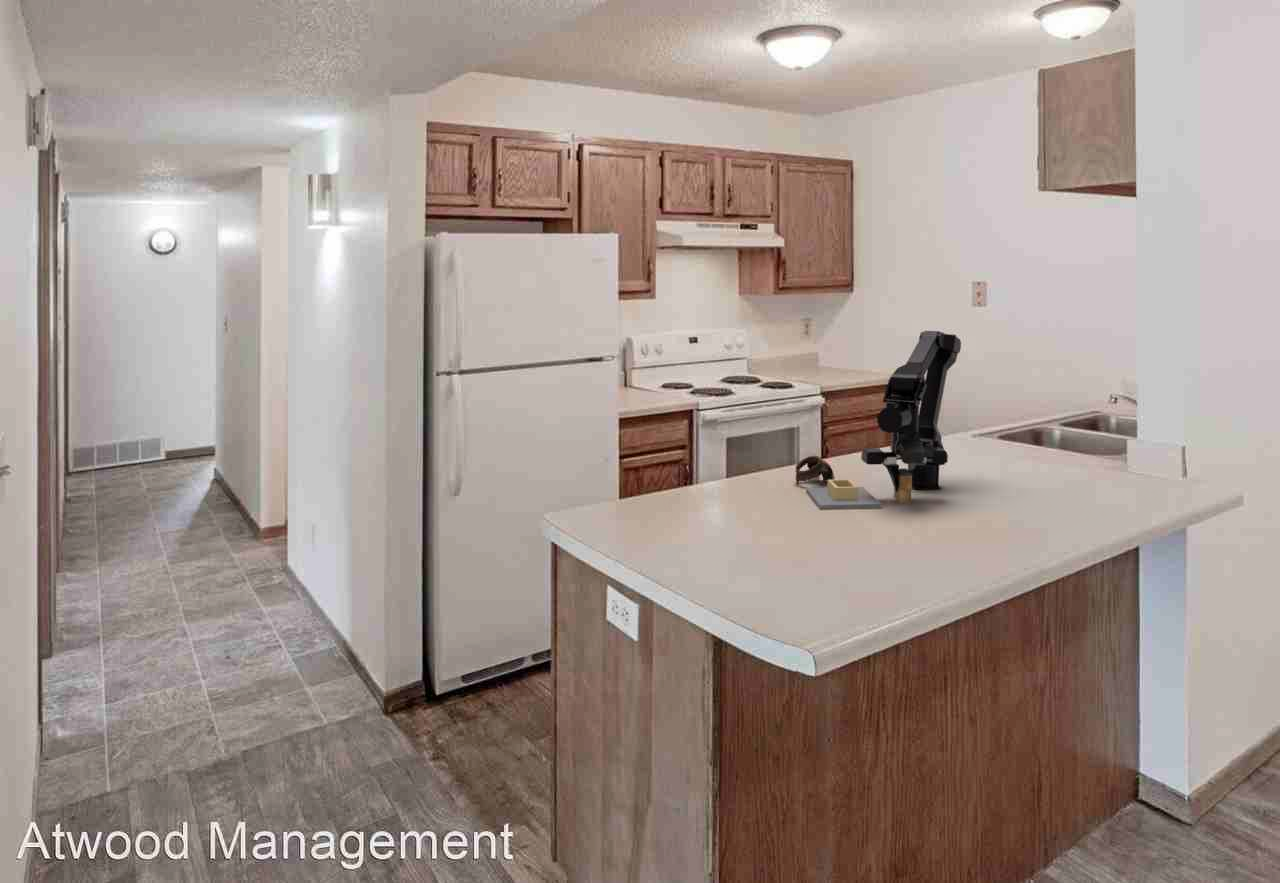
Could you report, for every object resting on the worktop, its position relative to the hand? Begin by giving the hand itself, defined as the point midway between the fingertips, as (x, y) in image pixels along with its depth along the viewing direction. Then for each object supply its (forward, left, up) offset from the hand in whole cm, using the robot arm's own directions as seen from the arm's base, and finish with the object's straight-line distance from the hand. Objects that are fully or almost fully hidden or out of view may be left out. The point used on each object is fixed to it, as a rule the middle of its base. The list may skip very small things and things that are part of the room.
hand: (902, 491), depth 204 cm
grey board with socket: (+14, -1, -2) cm, 14 cm away
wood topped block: (0, 0, -2) cm, 2 cm away
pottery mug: (+17, -18, -2) cm, 25 cm away
